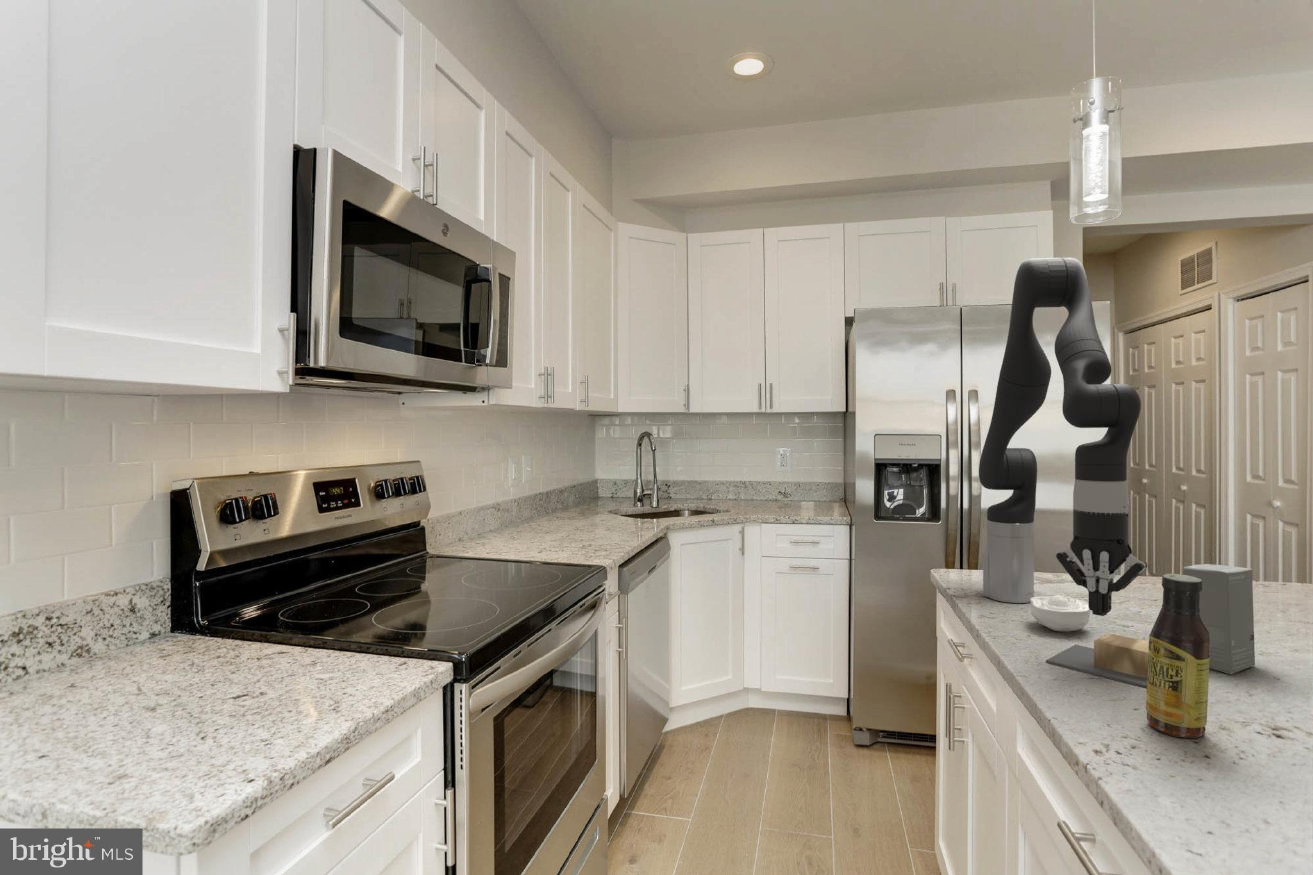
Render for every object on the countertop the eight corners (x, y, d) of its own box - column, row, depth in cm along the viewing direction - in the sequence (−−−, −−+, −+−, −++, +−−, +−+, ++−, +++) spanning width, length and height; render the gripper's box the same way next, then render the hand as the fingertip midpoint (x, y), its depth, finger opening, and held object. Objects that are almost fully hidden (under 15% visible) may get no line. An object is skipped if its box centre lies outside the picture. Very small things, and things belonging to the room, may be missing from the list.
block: (1094, 640, 110) (1170, 657, 102) (1107, 633, 113) (1181, 648, 106) (1094, 665, 110) (1169, 683, 102) (1107, 657, 113) (1181, 674, 106)
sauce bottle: (1134, 720, 91) (1134, 571, 90) (1178, 717, 91) (1179, 569, 91) (1175, 743, 84) (1176, 582, 84) (1222, 740, 85) (1224, 581, 84)
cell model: (1097, 626, 131) (1098, 591, 131) (1083, 642, 122) (1083, 604, 122) (1038, 616, 138) (1038, 583, 138) (1021, 630, 129) (1021, 595, 129)
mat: (1045, 662, 112) (1045, 660, 112) (1075, 646, 120) (1075, 644, 120) (1163, 692, 100) (1163, 689, 100) (1188, 672, 107) (1188, 669, 107)
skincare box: (1231, 676, 106) (1232, 573, 105) (1179, 661, 112) (1179, 565, 112) (1258, 666, 110) (1259, 567, 109) (1205, 653, 116) (1206, 559, 116)
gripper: (1046, 506, 114) (1046, 610, 114) (1140, 514, 103) (1139, 628, 104) (1065, 502, 118) (1065, 602, 119) (1156, 509, 108) (1156, 619, 108)
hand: (1100, 614), depth 111 cm, fingers closed
